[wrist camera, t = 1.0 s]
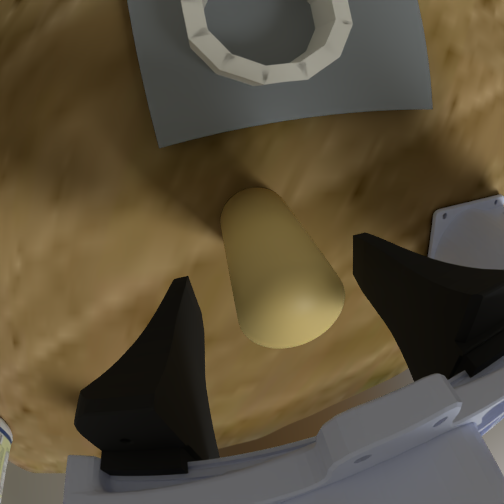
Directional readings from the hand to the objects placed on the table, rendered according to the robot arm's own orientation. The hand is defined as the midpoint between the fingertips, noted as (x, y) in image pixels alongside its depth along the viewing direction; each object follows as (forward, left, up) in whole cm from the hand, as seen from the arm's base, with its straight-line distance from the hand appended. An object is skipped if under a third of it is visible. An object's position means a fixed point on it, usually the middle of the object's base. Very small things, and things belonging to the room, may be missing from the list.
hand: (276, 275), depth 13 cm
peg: (0, 0, -6) cm, 6 cm away
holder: (-4, -11, -6) cm, 13 cm away
